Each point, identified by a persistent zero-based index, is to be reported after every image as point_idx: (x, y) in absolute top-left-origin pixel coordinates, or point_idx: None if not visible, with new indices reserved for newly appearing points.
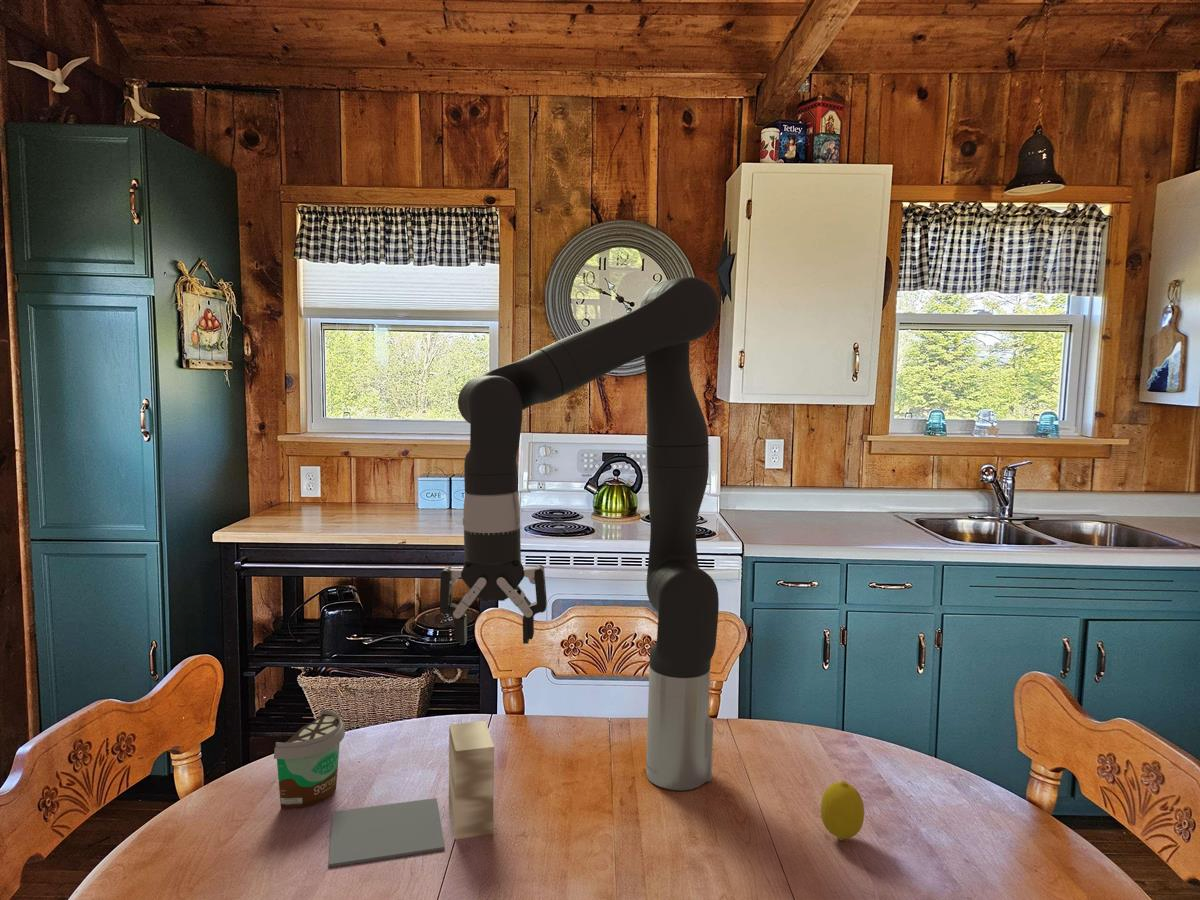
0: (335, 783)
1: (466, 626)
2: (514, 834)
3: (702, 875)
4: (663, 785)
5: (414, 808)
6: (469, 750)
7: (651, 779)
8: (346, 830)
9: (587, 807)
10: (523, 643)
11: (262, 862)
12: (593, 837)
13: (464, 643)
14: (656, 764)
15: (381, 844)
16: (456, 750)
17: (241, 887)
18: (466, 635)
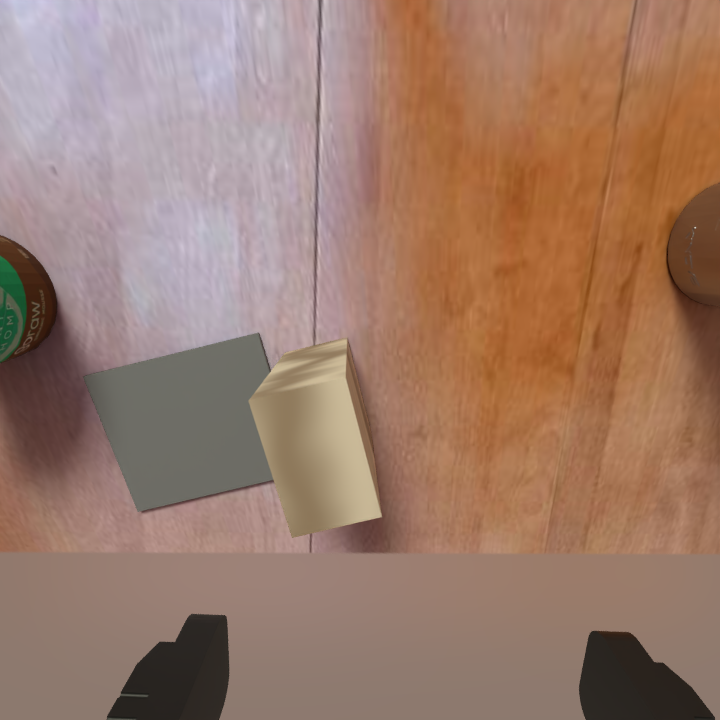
0: (45, 298)
1: (187, 714)
2: (405, 432)
3: (668, 526)
4: (691, 296)
5: (225, 368)
6: (323, 529)
7: (674, 273)
8: (130, 432)
9: (532, 356)
10: (582, 698)
11: (37, 497)
12: (530, 441)
13: (223, 697)
14: (711, 286)
15: (200, 467)
16: (293, 534)
17: (39, 546)
18: (213, 658)
